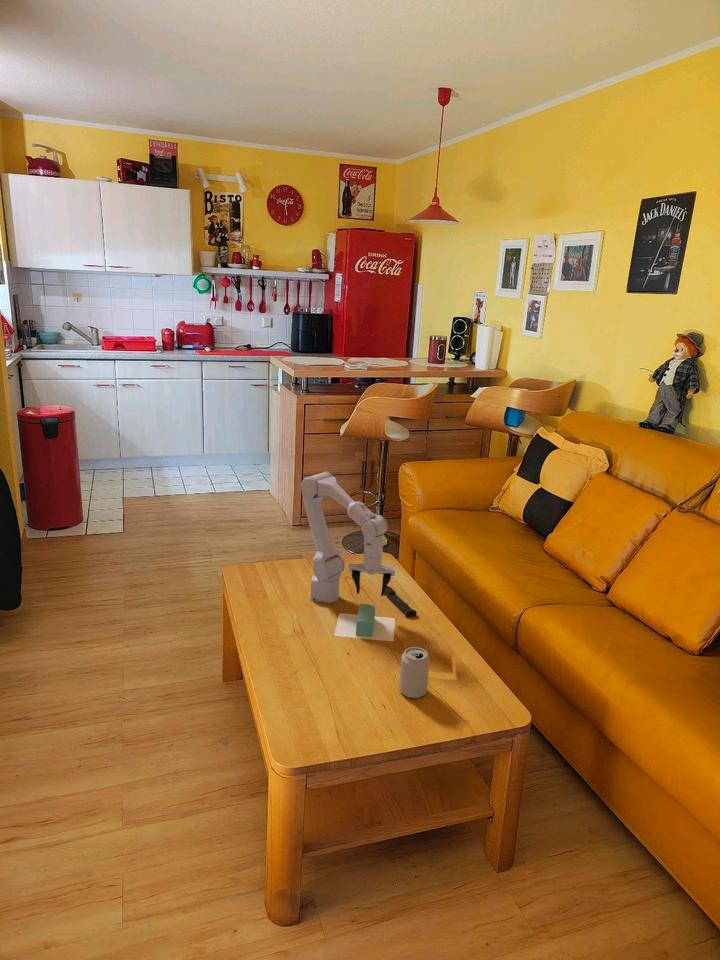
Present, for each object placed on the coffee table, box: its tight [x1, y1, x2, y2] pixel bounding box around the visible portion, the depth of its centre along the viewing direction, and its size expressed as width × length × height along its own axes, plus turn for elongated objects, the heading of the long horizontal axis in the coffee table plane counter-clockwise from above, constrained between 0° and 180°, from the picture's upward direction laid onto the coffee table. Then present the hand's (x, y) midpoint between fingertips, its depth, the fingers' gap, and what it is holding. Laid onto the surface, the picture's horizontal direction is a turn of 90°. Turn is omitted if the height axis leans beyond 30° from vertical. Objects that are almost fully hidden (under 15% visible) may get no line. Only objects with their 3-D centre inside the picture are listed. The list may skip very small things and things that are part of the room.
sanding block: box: [356, 603, 377, 637], centre depth 204 cm, size 5×11×5 cm, turn 175°
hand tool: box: [383, 585, 418, 618], centre depth 220 cm, size 19×4×5 cm, turn 24°
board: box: [334, 612, 396, 642], centre depth 205 cm, size 18×14×2 cm
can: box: [398, 646, 431, 699], centre depth 175 cm, size 8×8×12 cm
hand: (370, 593), depth 210 cm, fingers open, 7 cm apart
